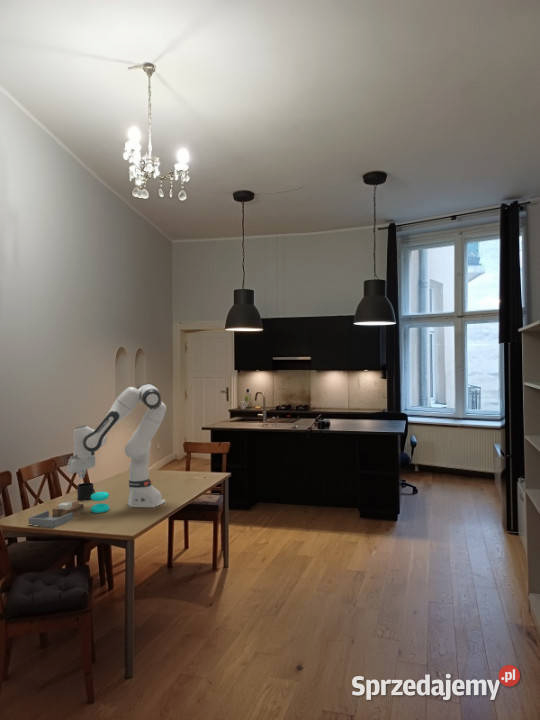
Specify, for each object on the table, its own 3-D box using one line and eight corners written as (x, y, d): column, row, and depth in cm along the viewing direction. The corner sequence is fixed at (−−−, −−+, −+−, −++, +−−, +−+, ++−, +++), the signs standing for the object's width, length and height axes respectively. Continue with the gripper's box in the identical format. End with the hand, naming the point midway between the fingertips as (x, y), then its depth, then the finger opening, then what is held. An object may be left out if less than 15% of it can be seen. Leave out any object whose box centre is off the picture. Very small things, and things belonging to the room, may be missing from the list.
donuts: (97, 490, 303) (112, 491, 300) (97, 508, 303) (112, 509, 300) (86, 495, 293) (102, 496, 290) (87, 513, 293) (102, 514, 290)
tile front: (72, 506, 289) (72, 502, 289) (65, 509, 284) (65, 505, 284) (64, 506, 290) (64, 502, 290) (58, 508, 286) (58, 504, 286)
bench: (83, 513, 293) (83, 504, 293) (68, 519, 282) (68, 510, 282) (67, 511, 297) (67, 502, 297) (52, 517, 285) (52, 508, 285)
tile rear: (78, 504, 294) (78, 500, 294) (72, 506, 289) (72, 502, 289) (71, 503, 295) (71, 499, 295) (65, 505, 291) (65, 501, 291)
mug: (89, 501, 317) (89, 487, 317) (74, 500, 322) (73, 485, 322) (100, 497, 326) (99, 483, 326) (84, 496, 330) (84, 482, 330)
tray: (72, 520, 280) (72, 512, 280) (54, 528, 267) (53, 520, 267) (47, 517, 286) (47, 510, 286) (28, 525, 273) (28, 517, 273)
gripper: (73, 457, 290) (73, 482, 290) (97, 451, 309) (97, 474, 309) (64, 457, 292) (64, 481, 292) (88, 450, 311) (88, 474, 311)
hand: (81, 478), depth 301 cm, fingers closed
